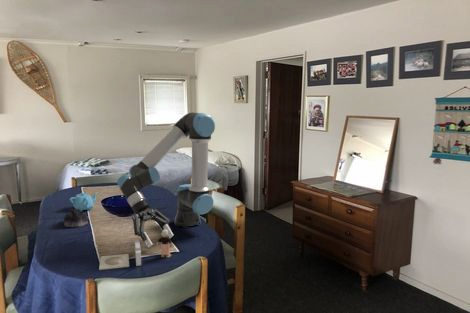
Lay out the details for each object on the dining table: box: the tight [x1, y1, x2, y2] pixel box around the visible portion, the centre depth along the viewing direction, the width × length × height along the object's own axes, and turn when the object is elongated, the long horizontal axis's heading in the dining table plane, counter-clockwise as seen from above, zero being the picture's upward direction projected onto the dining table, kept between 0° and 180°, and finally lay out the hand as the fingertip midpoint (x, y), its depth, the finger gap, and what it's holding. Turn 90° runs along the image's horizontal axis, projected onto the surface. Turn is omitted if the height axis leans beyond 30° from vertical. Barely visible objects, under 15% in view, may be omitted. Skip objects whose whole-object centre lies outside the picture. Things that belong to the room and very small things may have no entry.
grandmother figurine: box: [156, 229, 174, 258], centre depth 162 cm, size 8×4×13 cm, turn 92°
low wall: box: [134, 239, 142, 267], centre depth 159 cm, size 2×14×6 cm, turn 18°
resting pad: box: [98, 253, 130, 271], centre depth 156 cm, size 12×12×1 cm
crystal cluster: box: [63, 208, 89, 228], centre depth 200 cm, size 13×14×10 cm
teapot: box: [69, 191, 99, 213], centre depth 226 cm, size 13×14×11 cm
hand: (161, 241), depth 162 cm, fingers open, 13 cm apart
